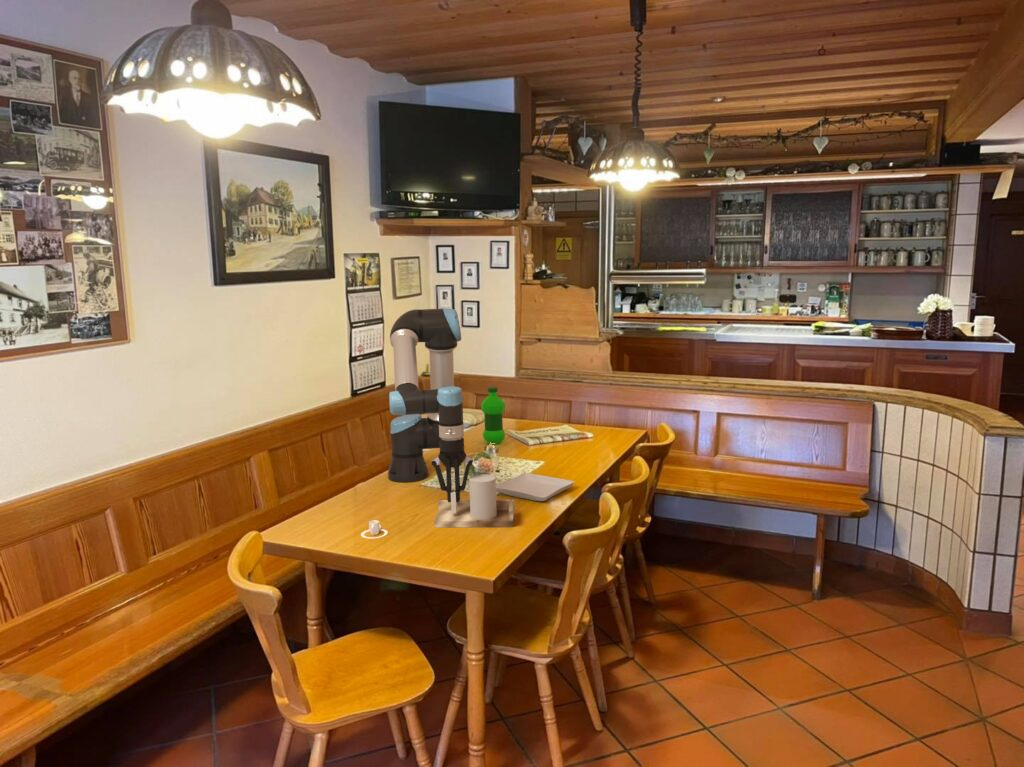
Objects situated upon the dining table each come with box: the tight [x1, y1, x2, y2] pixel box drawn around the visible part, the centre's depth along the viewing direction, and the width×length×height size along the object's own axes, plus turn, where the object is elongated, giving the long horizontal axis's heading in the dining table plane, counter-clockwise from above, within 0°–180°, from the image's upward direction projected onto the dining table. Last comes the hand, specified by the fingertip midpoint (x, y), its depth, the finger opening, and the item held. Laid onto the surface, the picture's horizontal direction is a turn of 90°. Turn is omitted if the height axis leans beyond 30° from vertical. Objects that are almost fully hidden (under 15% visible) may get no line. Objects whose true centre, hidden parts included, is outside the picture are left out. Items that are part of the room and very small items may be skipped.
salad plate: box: [496, 472, 575, 502], centre depth 257 cm, size 21×21×3 cm
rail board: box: [433, 499, 516, 529], centre depth 229 cm, size 24×11×5 cm, turn 87°
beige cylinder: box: [468, 473, 497, 520], centre depth 228 cm, size 8×8×12 cm
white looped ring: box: [360, 519, 389, 540], centre depth 221 cm, size 9×8×4 cm
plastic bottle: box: [480, 386, 506, 445], centre depth 326 cm, size 10×10×25 cm
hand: (454, 511), depth 229 cm, fingers closed
